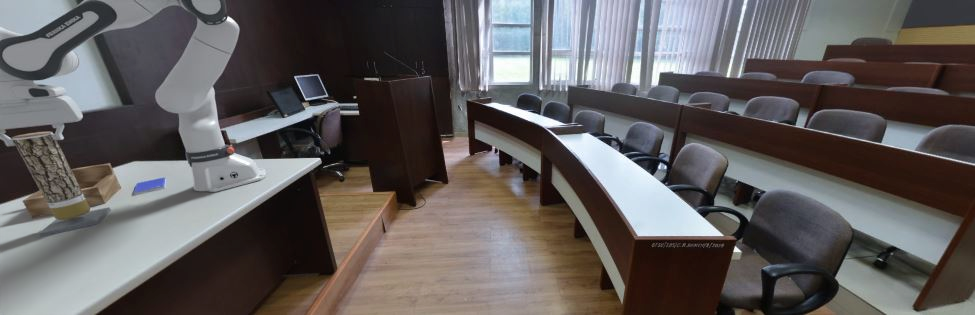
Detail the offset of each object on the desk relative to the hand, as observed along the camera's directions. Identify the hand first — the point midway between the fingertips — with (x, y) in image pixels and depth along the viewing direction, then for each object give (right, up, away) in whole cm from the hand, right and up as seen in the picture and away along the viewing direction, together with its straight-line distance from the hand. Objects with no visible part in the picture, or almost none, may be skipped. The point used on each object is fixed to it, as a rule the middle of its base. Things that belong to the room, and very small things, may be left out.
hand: (36, 142), depth 90 cm
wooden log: (+1, -22, +8) cm, 23 cm away
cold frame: (-16, -19, +23) cm, 34 cm away
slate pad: (+1, -24, +8) cm, 25 cm away
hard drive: (-3, -16, +33) cm, 37 cm away
